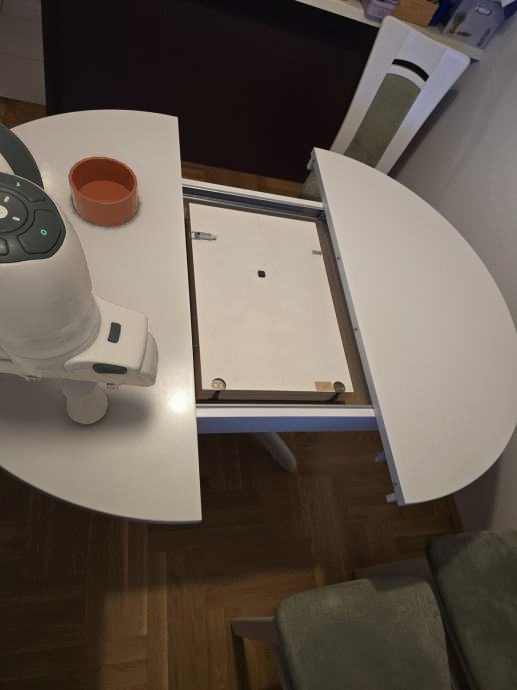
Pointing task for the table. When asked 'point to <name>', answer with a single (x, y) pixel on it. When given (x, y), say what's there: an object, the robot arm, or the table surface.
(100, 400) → the grey rounded piece
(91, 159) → the pot
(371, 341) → the table surface
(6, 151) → the robot arm
